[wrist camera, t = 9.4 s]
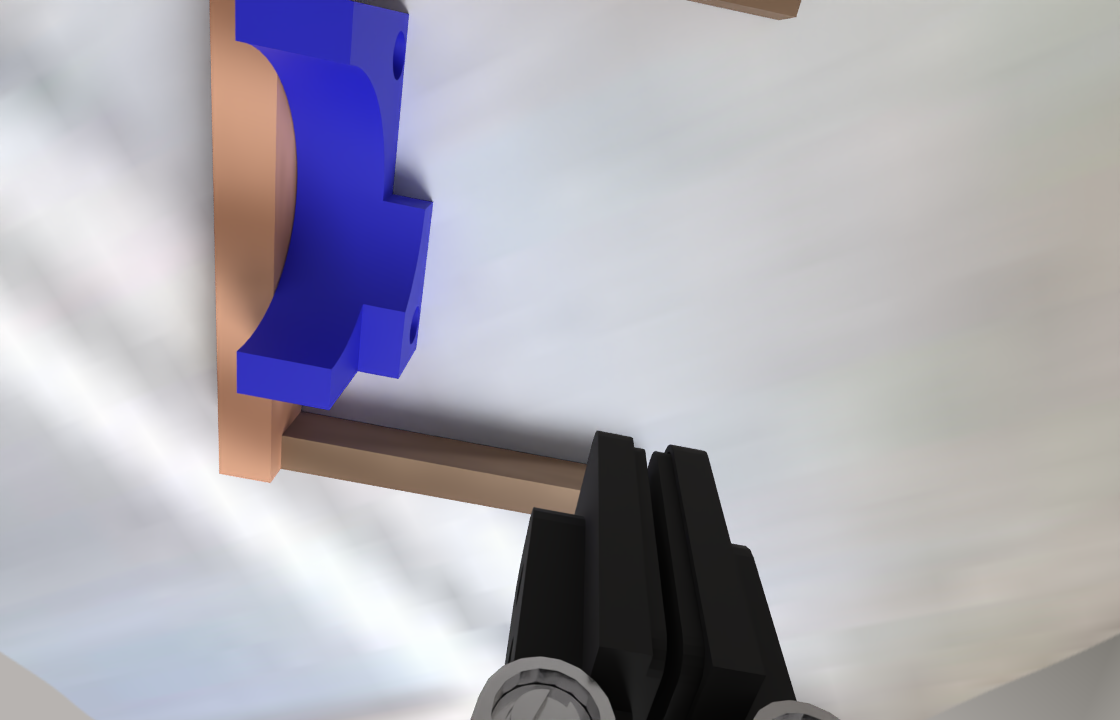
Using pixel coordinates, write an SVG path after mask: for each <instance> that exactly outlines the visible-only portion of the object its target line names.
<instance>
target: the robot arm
mask: <svg viewBox="0 0 1120 720" xmlns="http://www.w3.org/2000/svg"><path fill="white" fill-rule="evenodd" d="M471 720H840V719H838V718H837V717H835V716H834V715H832V714H831V713H830V712H827V711H825V710H823V709H820V708H818V707H816V706H814V705H811V704H809V703H803V702H798V701H796V697H795V694H794V691H793V687H792V684H791V681H790V677H789V674H788V671H787V667H786V664H785V661H784V657H783V654H782V651H781V647H780V644H779V641H778V637H777V634H776V631H775V627H774V624H773V621H772V617H771V614H770V611H769V607H768V604H767V601H766V597H765V594H764V591H763V587H762V584H761V581H760V577H759V574H758V571H757V567H756V564H755V561H754V557H753V555H752V553H751V551H750V549H749V548H747V547H746V546H742V545H737V544H731V541H730V537H729V534H728V530H727V526H726V522H725V519H724V515H723V511H722V507H721V503H720V500H719V496H718V492H717V488H716V484H715V481H714V477H713V473H712V469H711V466H710V462H709V458H708V455H707V453H706V452H705V451H702V450H697V449H691V448H686V447H681V446H676V445H669V446H668V447H667V448H666V450H665V453H662V452H657V451H654V452H653V454H652V456H651V459H650V462H649V465H648V469H647V462H646V453H645V450H644V449H641V448H635V447H634V442H633V438H632V437H628V436H623V435H618V434H612V433H607V432H602V431H596V433H595V436H594V439H593V443H592V446H591V450H590V454H589V458H588V462H587V466H586V470H585V474H584V478H583V482H582V486H581V490H580V494H579V498H578V502H577V506H576V510H575V514H569V513H563V512H558V511H552V510H547V509H541V508H536V507H533V509H532V513H531V517H530V521H529V526H528V530H527V535H526V540H525V544H524V549H523V554H522V559H521V564H520V569H519V575H518V580H517V586H516V592H515V599H514V605H513V612H512V619H511V626H510V633H509V640H508V647H507V654H506V660H505V665H504V666H502V667H501V668H500V669H499V670H498V671H497V672H496V673H494V674H493V675H492V676H491V677H490V678H489V679H488V681H487V682H486V684H485V686H484V688H483V689H482V691H481V693H480V695H479V697H478V700H477V703H476V706H475V709H474V711H473V714H472V717H471Z"/></svg>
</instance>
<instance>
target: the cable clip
mask: <svg viewBox="0 0 1120 720" xmlns="http://www.w3.org/2000/svg"><path fill="white" fill-rule="evenodd" d="M408 19H409V14H407V13H402V12H398V11H393V10H389V9H385V8H380V7H376V6H372V5H367V4H363V3H359V2H354V1H350V0H235V41H239V42H244V43H247V44H249V45H252V46H253V47H255V48H256V49H258V50H259V51H260V52H261V53H262V54H263V55H264V56H265V57H266V58H267V59H268V60H269V62H270V63H271V64H272V66H273V67H274V69H275V71H276V73H277V74H278V76H279V78H280V81H281V83H282V85H283V88H284V90H285V93H286V96H287V99H288V103H289V106H290V110H291V115H292V120H293V125H294V132H295V140H296V150H297V195H296V207H295V216H294V223H293V230H292V235H291V240H290V245H289V250H288V254H287V258H286V262H285V265H284V268H283V272H282V275H281V278H280V281H279V284H278V286H277V289H276V291H275V294H274V297H273V299H272V301H271V303H270V305H269V308H268V309H267V311H266V313H265V315H264V317H263V319H262V320H261V322H260V324H259V325H258V327H257V328H256V330H255V331H254V333H253V334H252V335H251V337H250V338H249V339H248V340H247V341H246V343H245V344H244V345H243V346H242V347H241V348H240V349H239V350H238V351H237V393H239V394H245V395H250V396H255V397H261V398H266V399H272V400H277V401H282V402H288V403H293V404H298V405H304V406H309V407H314V408H320V409H325V410H330V409H331V407H332V406H333V404H334V403H335V402H336V400H337V399H338V398H339V396H340V395H341V393H342V392H343V391H344V389H345V388H346V387H347V385H348V384H349V382H350V381H351V380H352V378H353V377H354V376H355V374H356V373H357V371H360V372H365V373H370V374H375V375H381V376H386V377H391V378H397V379H399V377H400V375H401V373H402V372H403V370H404V368H405V367H406V365H407V363H408V362H409V360H410V358H411V356H412V355H413V353H414V351H415V350H416V345H417V337H418V328H419V319H420V311H421V302H422V293H423V285H424V276H425V267H426V259H427V250H428V242H429V233H430V224H431V216H432V207H433V202H430V201H425V200H420V199H416V198H411V197H406V196H401V195H396V194H393V185H394V174H395V163H396V152H397V141H398V130H399V119H400V108H401V97H402V86H403V75H404V64H405V53H406V42H407V30H408Z"/></svg>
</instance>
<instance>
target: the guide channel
mask: <svg viewBox="0 0 1120 720" xmlns="http://www.w3.org/2000/svg"><path fill="white" fill-rule="evenodd" d="M689 1H693V2H698V3H702V4H707V5H712V6H716V7H721V8H726V9H730V10H735V11H739V12H744V13H749V14H753V15H758V16H763V17H767V18H772V19H776V20H782V19H788V18H793V17H796V16H797V12H798V9H799V6H800V3H801V0H689ZM210 44H211V93H212V141H213V189H214V237H215V285H216V333H217V381H218V429H219V474H224V475H230V476H235V477H241V478H246V479H252V480H257V481H263V482H269V483H271V481H272V480H273V479H274V477H275V476H276V474H277V473H278V472H279V470H280V469H285V470H291V471H296V472H302V473H307V474H313V475H318V476H324V477H329V478H335V479H340V480H346V481H351V482H357V483H362V484H368V485H373V486H379V487H384V488H390V489H395V490H401V491H406V492H412V493H417V494H423V495H428V496H434V497H439V498H445V499H450V500H456V501H461V502H467V503H472V504H478V505H483V506H489V507H494V508H500V509H505V510H511V511H516V512H522V513H527V514H531V513H532V509H533V507H536V508H541V509H547V510H552V511H558V512H563V513H569V514H575V510H576V506H577V502H578V498H579V494H580V490H581V486H582V482H583V478H584V474H585V470H586V466H587V464H582V463H576V462H571V461H566V460H560V459H555V458H550V457H544V456H539V455H533V454H528V453H523V452H517V451H512V450H506V449H501V448H496V447H490V446H485V445H480V444H474V443H469V442H463V441H458V440H453V439H447V438H442V437H436V436H431V435H426V434H420V433H415V432H410V431H404V430H399V429H393V428H388V427H383V426H377V425H372V424H367V423H361V422H356V421H350V420H345V419H340V418H334V417H329V416H323V415H318V414H313V413H307V412H302V411H301V405H298V404H293V403H288V402H282V401H277V400H272V399H266V398H261V397H255V396H250V395H245V394H239V393H237V351H238V350H239V349H240V348H241V347H242V346H243V345H244V344H245V343H246V341H247V340H248V339H249V338H250V337H251V335H252V334H253V333H254V331H255V330H256V328H257V327H258V325H259V324H260V322H261V320H262V319H263V317H264V315H265V313H266V311H267V309H268V308H269V305H270V303H271V301H272V299H273V297H274V294H275V291H276V289H277V286H278V284H279V281H280V278H281V275H282V272H283V268H284V265H285V262H286V258H287V254H288V250H289V245H290V240H291V235H292V230H293V223H294V216H295V207H296V195H297V150H296V140H295V132H294V125H293V120H292V115H291V110H290V106H289V103H288V99H287V96H286V93H285V90H284V88H283V85H282V83H281V81H280V78H279V76H278V74H277V73H276V71H275V69H274V67H273V66H272V64H271V63H270V62H269V60H268V59H267V58H266V57H265V56H264V55H263V54H262V53H261V52H260V51H259V50H258V49H256V48H255V47H253V46H252V45H249V44H247V43H244V42H239V41H235V0H210Z"/></svg>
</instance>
